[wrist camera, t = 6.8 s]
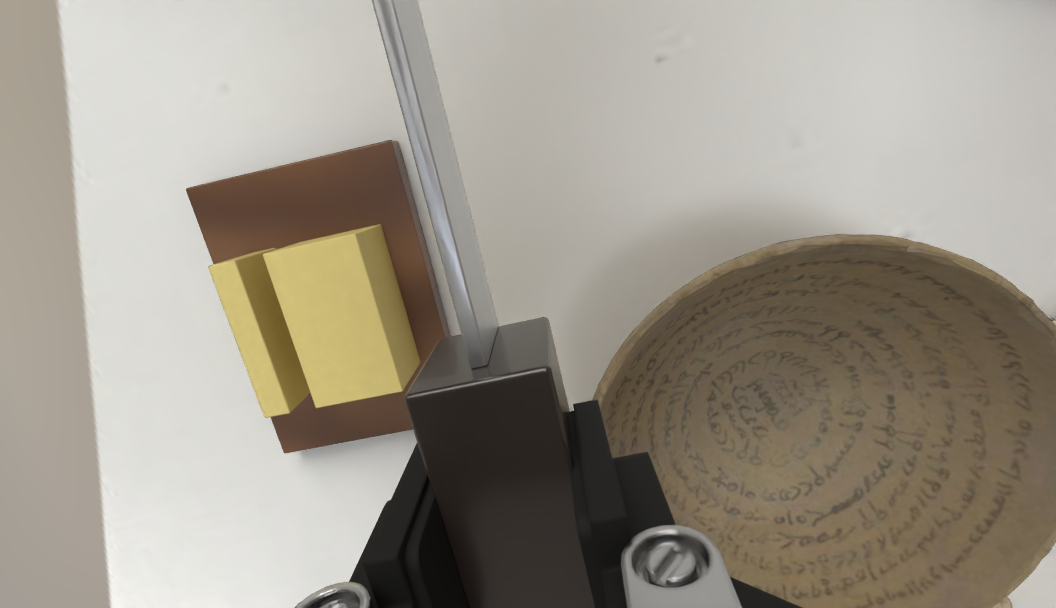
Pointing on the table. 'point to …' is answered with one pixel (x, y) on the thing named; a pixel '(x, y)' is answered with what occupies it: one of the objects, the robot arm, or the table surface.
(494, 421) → the knife
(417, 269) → the board
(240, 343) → the butter slice
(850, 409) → the bowl
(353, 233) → the butter block
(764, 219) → the table surface
